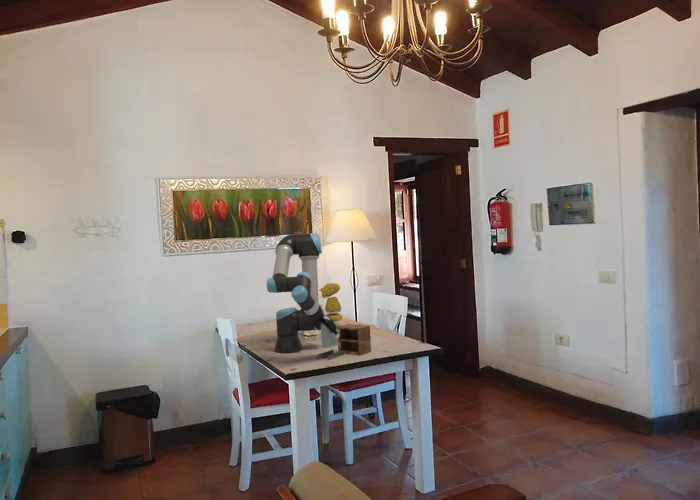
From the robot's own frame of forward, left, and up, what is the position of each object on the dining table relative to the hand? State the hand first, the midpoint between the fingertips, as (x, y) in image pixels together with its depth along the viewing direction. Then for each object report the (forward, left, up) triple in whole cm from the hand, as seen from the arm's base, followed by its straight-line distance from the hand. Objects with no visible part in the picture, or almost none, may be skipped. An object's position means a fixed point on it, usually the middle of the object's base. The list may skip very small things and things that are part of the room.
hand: (334, 337), depth 300 cm
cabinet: (+5, -1, -10) cm, 11 cm away
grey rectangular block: (-2, -3, -4) cm, 6 cm away
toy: (+1, +85, -10) cm, 85 cm away
